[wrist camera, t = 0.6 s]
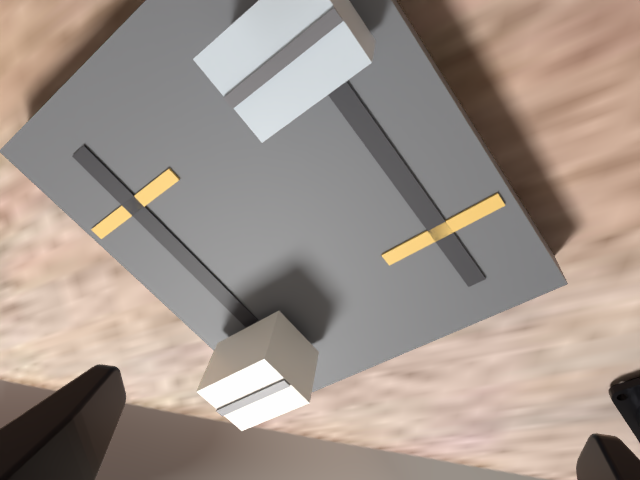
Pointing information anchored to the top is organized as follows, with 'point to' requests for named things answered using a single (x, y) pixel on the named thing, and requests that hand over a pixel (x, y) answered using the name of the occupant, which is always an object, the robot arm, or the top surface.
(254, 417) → the cream fader
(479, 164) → the console
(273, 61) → the white fader
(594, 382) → the top surface
